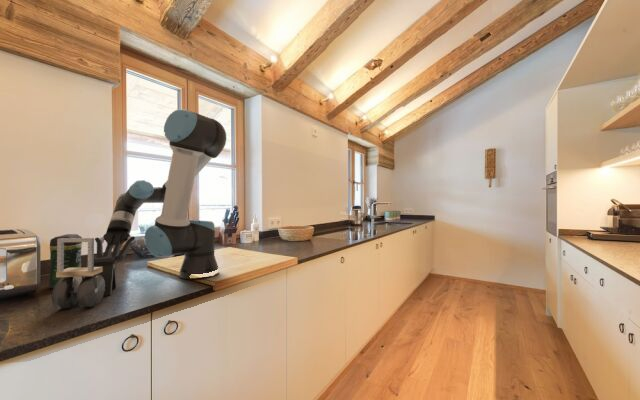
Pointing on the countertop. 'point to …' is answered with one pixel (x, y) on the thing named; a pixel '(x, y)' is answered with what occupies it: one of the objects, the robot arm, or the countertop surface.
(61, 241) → the trolley
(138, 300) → the countertop surface
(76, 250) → the coffee jar
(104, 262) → the dark grey bin
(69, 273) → the trolley deck
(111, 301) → the countertop surface
